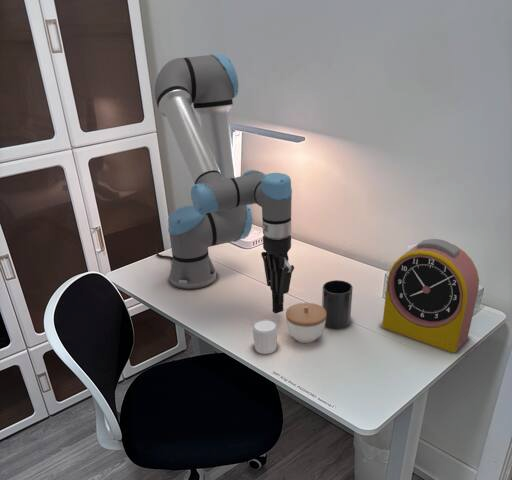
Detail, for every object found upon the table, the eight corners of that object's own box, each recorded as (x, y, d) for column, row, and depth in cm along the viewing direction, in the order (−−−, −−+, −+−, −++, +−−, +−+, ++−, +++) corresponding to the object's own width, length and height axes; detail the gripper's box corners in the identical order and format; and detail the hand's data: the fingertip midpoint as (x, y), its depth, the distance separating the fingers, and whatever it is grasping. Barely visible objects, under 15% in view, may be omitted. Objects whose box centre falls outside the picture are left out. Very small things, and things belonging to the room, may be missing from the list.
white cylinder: (283, 349, 138) (283, 326, 135) (262, 358, 135) (261, 335, 131) (268, 337, 143) (268, 315, 139) (247, 346, 140) (246, 324, 136)
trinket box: (320, 350, 137) (322, 320, 132) (281, 344, 140) (281, 314, 135) (329, 329, 146) (330, 299, 140) (291, 324, 149) (291, 295, 143)
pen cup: (316, 319, 150) (317, 285, 144) (338, 311, 153) (339, 277, 147) (333, 332, 144) (335, 297, 138) (355, 323, 148) (358, 288, 142)
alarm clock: (381, 327, 145) (391, 238, 131) (396, 313, 151) (407, 226, 136) (454, 353, 134) (474, 258, 119) (468, 337, 140) (489, 245, 125)
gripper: (252, 230, 141) (255, 305, 155) (278, 246, 132) (279, 325, 145) (275, 223, 144) (276, 298, 158) (302, 239, 135) (301, 317, 148)
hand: (277, 311), depth 152 cm, fingers closed
